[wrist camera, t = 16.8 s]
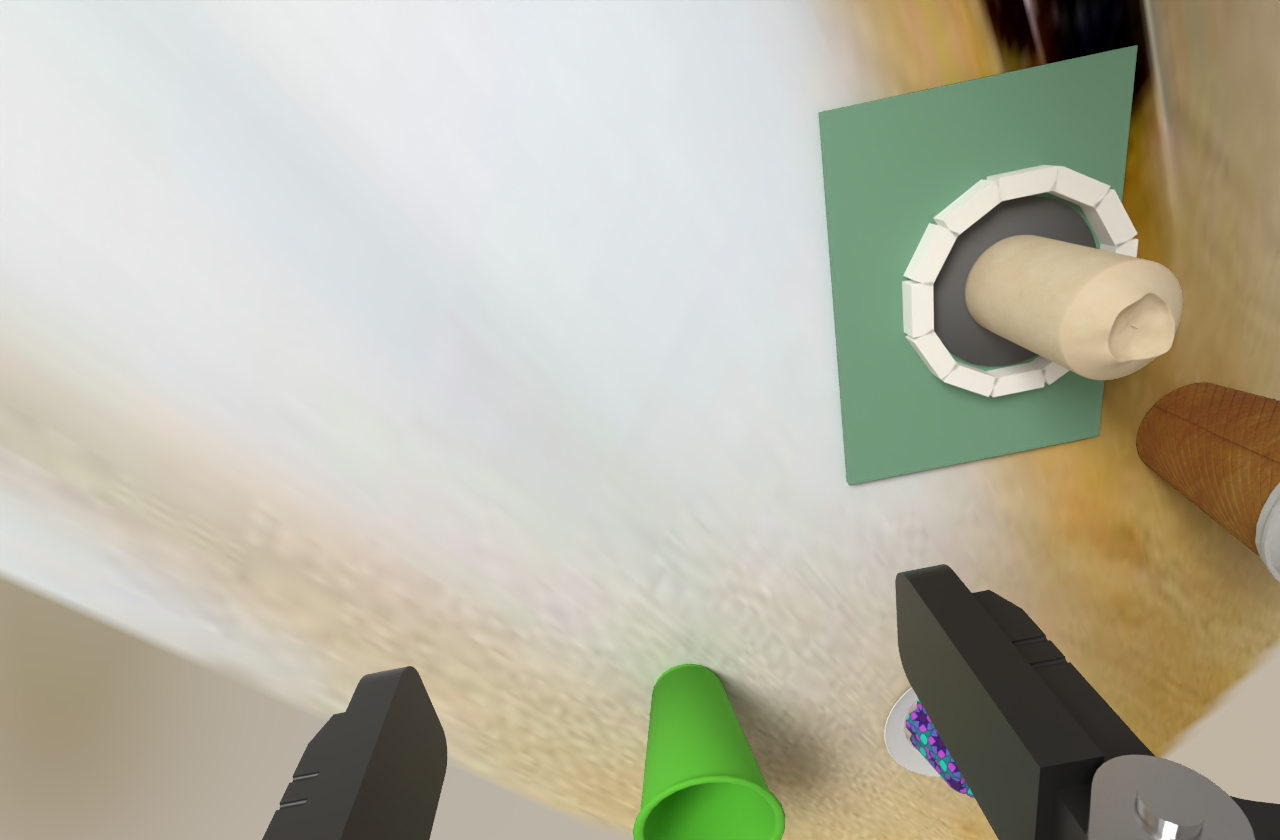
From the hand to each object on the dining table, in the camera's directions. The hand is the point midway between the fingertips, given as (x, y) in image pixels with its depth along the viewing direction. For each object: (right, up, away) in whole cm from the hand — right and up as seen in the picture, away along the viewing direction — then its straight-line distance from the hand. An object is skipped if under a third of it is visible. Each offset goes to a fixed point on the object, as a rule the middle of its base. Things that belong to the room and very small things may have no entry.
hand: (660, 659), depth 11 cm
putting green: (+19, +11, +27) cm, 35 cm away
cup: (+3, -16, +38) cm, 41 cm away
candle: (+21, +12, +26) cm, 35 cm away
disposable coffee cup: (+35, +4, +31) cm, 47 cm away
